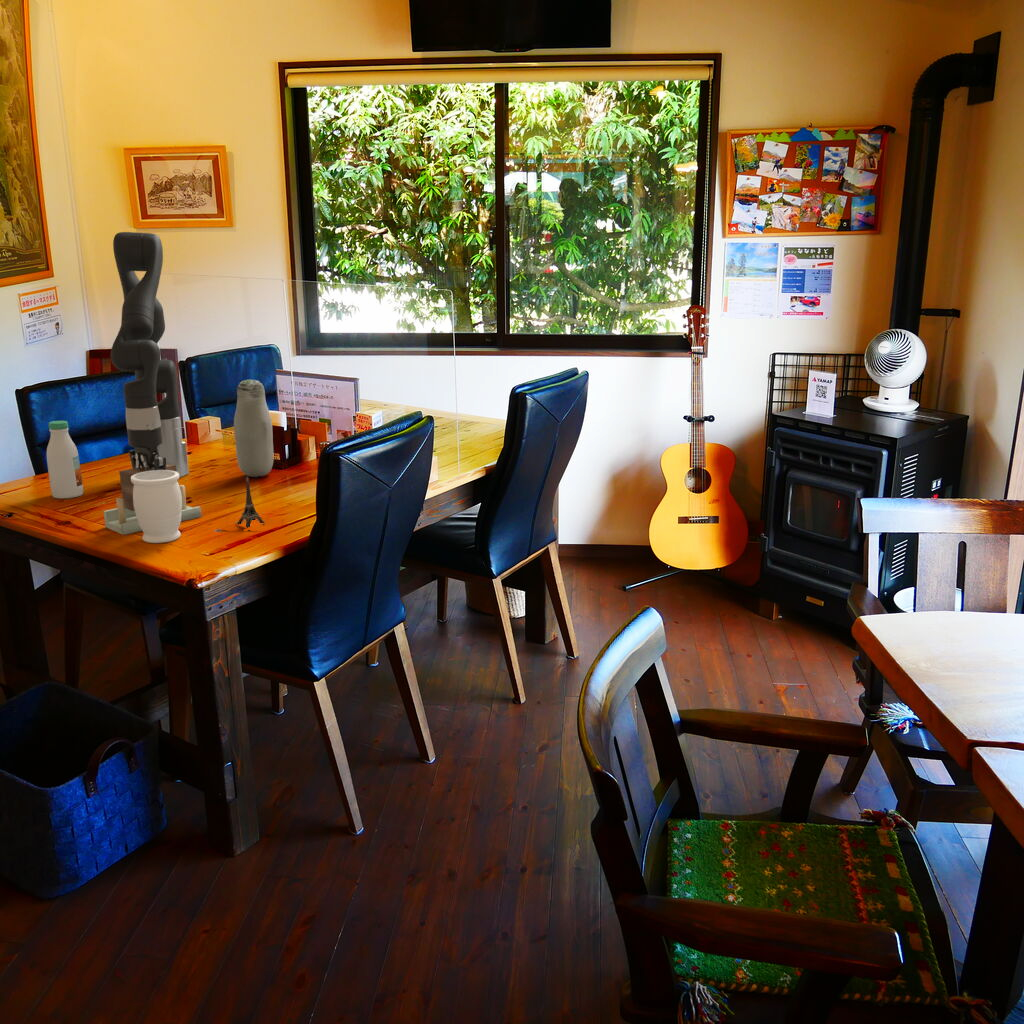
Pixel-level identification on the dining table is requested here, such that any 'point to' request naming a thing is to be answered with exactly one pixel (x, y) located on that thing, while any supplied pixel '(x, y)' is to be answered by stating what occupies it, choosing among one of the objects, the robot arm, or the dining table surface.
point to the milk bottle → (63, 463)
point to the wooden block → (128, 485)
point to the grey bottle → (253, 430)
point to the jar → (158, 504)
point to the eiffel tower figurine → (248, 509)
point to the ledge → (127, 519)
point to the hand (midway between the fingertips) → (151, 494)
